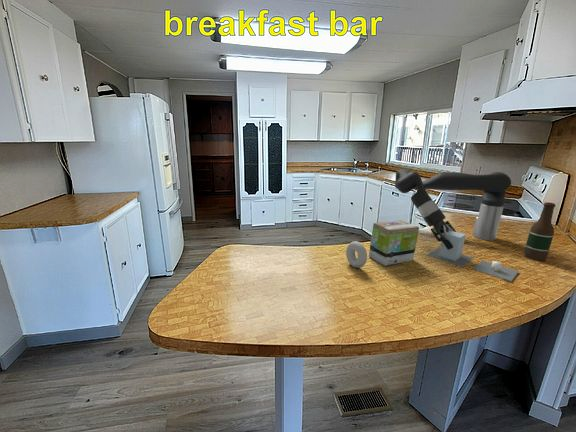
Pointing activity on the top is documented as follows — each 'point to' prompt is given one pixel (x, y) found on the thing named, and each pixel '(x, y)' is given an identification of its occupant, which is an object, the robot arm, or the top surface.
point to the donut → (361, 254)
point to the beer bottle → (540, 235)
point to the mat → (460, 262)
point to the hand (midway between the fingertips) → (454, 246)
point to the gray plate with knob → (496, 270)
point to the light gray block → (457, 244)
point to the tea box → (393, 242)
